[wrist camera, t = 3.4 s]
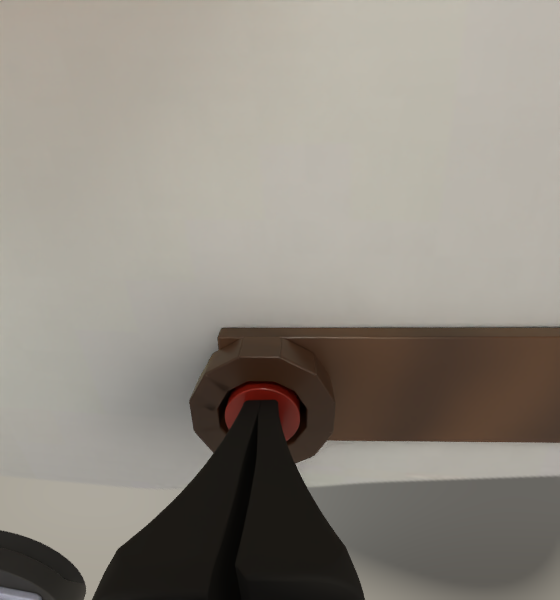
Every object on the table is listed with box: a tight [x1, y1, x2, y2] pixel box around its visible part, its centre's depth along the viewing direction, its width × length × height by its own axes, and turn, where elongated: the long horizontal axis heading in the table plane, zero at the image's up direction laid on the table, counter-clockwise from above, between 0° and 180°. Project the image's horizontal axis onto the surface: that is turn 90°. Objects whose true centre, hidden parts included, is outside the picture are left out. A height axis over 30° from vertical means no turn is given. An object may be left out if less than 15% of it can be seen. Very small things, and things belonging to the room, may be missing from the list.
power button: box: [225, 381, 300, 441], centre depth 14 cm, size 3×3×2 cm
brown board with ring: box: [189, 328, 560, 463], centre depth 14 cm, size 19×6×2 cm, turn 91°
